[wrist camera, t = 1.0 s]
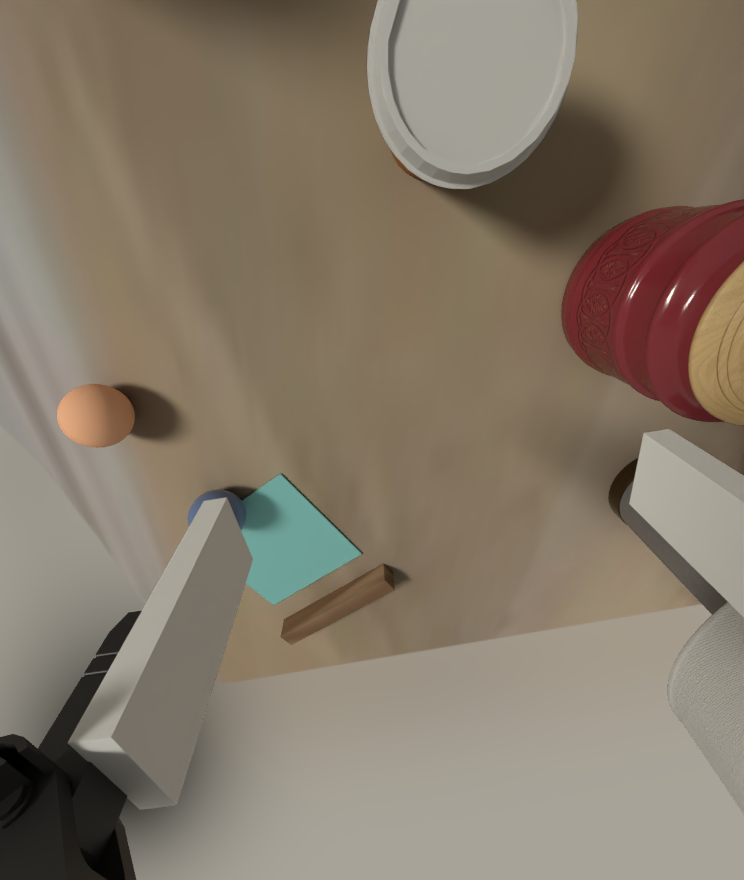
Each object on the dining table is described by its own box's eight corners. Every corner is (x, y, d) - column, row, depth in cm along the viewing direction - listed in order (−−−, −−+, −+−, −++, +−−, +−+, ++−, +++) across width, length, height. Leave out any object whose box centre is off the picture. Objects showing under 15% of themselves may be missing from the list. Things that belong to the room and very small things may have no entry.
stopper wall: (284, 619, 50) (280, 636, 48) (383, 563, 46) (384, 580, 44) (294, 627, 51) (291, 645, 49) (392, 573, 47) (394, 589, 45)
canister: (743, 220, 31) (1147, 199, 15) (667, 376, 37) (900, 478, 21) (590, 197, 30) (851, 148, 14) (537, 361, 35) (678, 457, 20)
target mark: (188, 537, 43) (188, 538, 43) (280, 473, 40) (280, 474, 40) (273, 603, 49) (273, 605, 49) (361, 552, 45) (361, 554, 45)
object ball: (188, 496, 41) (165, 531, 36) (225, 470, 40) (206, 502, 35) (226, 528, 43) (210, 565, 38) (262, 504, 42) (250, 539, 37)
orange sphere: (71, 398, 36) (25, 423, 31) (108, 363, 34) (67, 384, 29) (121, 440, 38) (86, 470, 33) (158, 409, 36) (127, 435, 31)
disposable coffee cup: (488, 205, 30) (562, 185, 19) (365, 206, 29) (369, 186, 19) (507, 35, 25) (617, -117, 14) (362, 35, 25) (365, -118, 14)
